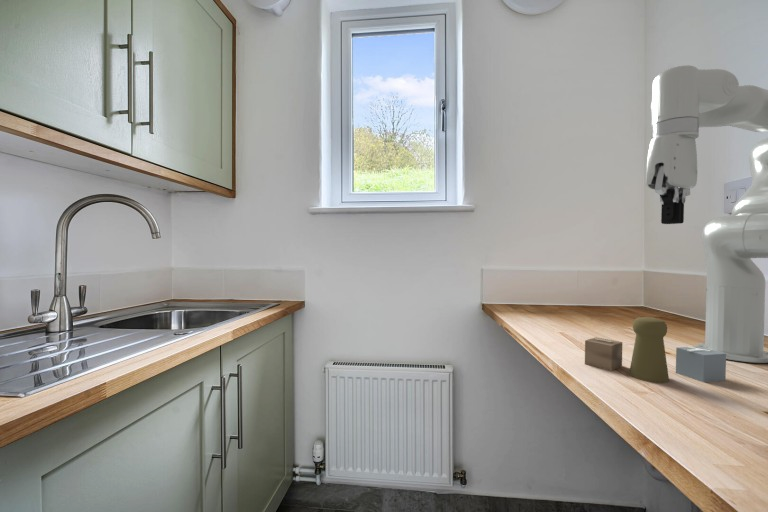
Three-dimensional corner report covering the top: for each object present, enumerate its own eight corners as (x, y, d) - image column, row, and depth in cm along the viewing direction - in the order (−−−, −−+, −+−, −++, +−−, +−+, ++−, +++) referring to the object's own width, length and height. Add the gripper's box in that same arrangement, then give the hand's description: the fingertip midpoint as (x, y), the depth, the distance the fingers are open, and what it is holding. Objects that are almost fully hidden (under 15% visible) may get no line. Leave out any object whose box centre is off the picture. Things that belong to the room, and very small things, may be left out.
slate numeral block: (696, 371, 71) (697, 345, 71) (725, 381, 66) (726, 352, 66) (674, 373, 70) (675, 346, 70) (702, 382, 65) (703, 353, 65)
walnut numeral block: (595, 360, 78) (596, 336, 78) (621, 366, 74) (622, 341, 74) (584, 364, 75) (585, 339, 75) (611, 371, 71) (611, 344, 71)
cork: (676, 383, 64) (678, 321, 64) (638, 381, 65) (639, 320, 65) (658, 372, 70) (659, 315, 70) (623, 370, 71) (624, 314, 71)
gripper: (673, 142, 80) (671, 226, 80) (632, 132, 73) (630, 223, 74) (715, 133, 73) (713, 223, 73) (675, 121, 67) (673, 220, 67)
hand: (672, 223), depth 74 cm, fingers closed
